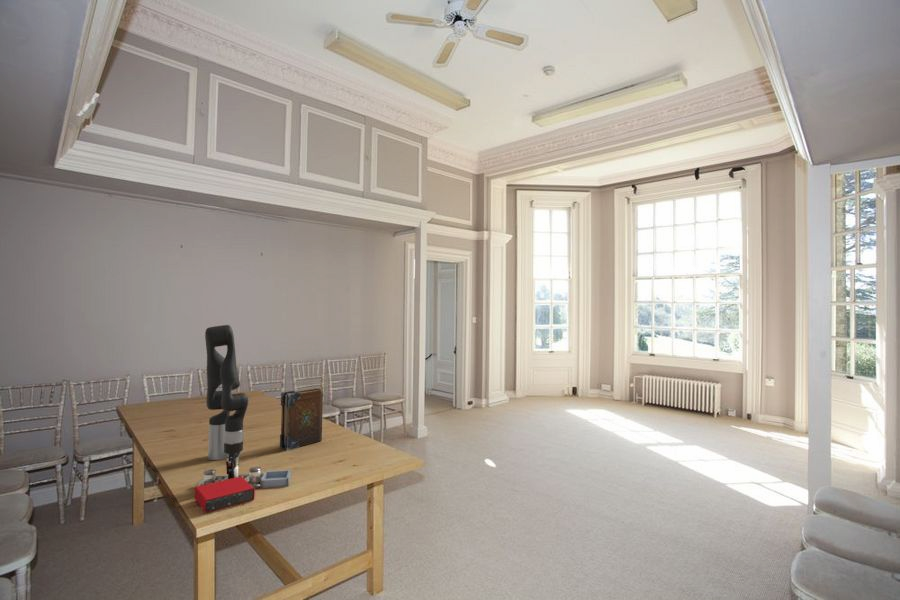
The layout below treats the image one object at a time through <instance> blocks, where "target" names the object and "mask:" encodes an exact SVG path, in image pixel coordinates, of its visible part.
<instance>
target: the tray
mask: <svg viewBox="0 0 900 600" xmlns="http://www.w3.org/2000/svg"><path fill="white" fill-rule="evenodd" d="M263 473H264V474H263V476H261V478H260V481H261V485H260V489H262V488H263V489H264V488H275V487H276V488H278V487H280V488H281V487H289V484H290V481H291V478H292V470H291V469H281V470H266V471H265V470H264V472H263Z"/></svg>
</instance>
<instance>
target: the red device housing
mask: <svg viewBox="0 0 900 600" xmlns="http://www.w3.org/2000/svg"><path fill="white" fill-rule="evenodd" d="M245 479H246V478H243V477H241V476H240V477H236V478H232V479H227V480H224V479H222V480H221V481H219V482H217V481H215V482H214V483H210V484H206V485H204V484H203V485H201V486H197V485H196V487H195V488H194V492H193V493H194V494H193V495H194V496H193V498H194V500H195V501H196V503H197V504H198V505H199V506H200V508H201V510H202V511H203V512H204V513H205V514H209V512H210V513H212V512H216V511H221V510H224V509H227V508H231V507H234V506H238V505H243V504H246V503H250V502H253V501H254V500H255V497H256V496H255V495H256V494H255V491H256V490H255V489H256V488H253V487H252V486H251V485H252V484H251V483H249V481H248V482H247V481H246V480H245ZM220 509H221V510H220Z"/></svg>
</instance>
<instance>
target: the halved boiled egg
mask: <svg viewBox="0 0 900 600" xmlns="http://www.w3.org/2000/svg"><path fill="white" fill-rule="evenodd" d="M233 466H234V465H233ZM230 471H232V470H231V469H230ZM238 475H239V465H236V468H235V473H234V478H236V477H238ZM226 476H227V479H228V474H227V473H226Z"/></svg>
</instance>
